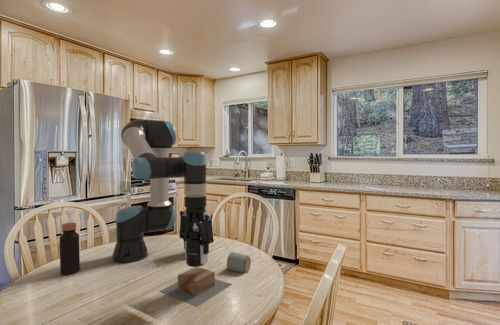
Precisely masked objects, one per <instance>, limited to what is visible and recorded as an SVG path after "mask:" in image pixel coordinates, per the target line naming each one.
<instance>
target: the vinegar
mask: <svg viewBox="0 0 500 325" xmlns="http://www.w3.org/2000/svg"><path fill="white" fill-rule="evenodd" d="M61 231H62V234H61V235H60V236H59V265H60V266H59V267H60V271H59V272H60V275H61V274H63V275H62V276H69V275H68V274H72V275H74V274H73V273H75V274H77V273H79V272H80V270H81V261H80V260H81V259H80V235H79V233H78V232H77V223H76V222H66V223H63V224H61ZM78 271H79V272H78ZM76 272H77V273H76Z"/></svg>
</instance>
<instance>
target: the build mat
mask: <svg viewBox="0 0 500 325" xmlns="http://www.w3.org/2000/svg"><path fill="white" fill-rule="evenodd" d="M232 285H233V283H230V282H226V281H223V280H221V279H216V278H215V286H214V287H212V288H210V289H209V290H207V291H205V292H204V293H202V294H200V295H198V296H194V295H191V294H189V293H186V292H183V291H181V290H178V281H177V282H175V283H173V284H170V285H169V286H166V287H165V288H162V289H161V290H159V291H158V292H160V293H162V294H165V295H166V296H169V297H172V298H175V299H177V300H178V301H181V302H184V303H187V304H189V305H191V306H194V307H199V306H200V305H202V304H204V303H205V302H207V301H209V300H210V299H211V298H213V297H214V296H216V295H218V294H219V293H221V292H223V291H225V290H226V289H228V288H229V287H230V286H232Z"/></svg>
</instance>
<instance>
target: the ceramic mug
mask: <svg viewBox="0 0 500 325" xmlns="http://www.w3.org/2000/svg"><path fill="white" fill-rule="evenodd" d="M251 261H252V259H251V257H250V256H249V255H247V254H246V253H245V254H244V253H239V252H235V251H230V253H229V254H228V256H227V259H226V270H227V271H228V272H229V271H230V272H236V273H243V274H247V273H248V272H249V270H250V269H251V263H252V262H251Z"/></svg>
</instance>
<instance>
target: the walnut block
mask: <svg viewBox="0 0 500 325" xmlns="http://www.w3.org/2000/svg"><path fill="white" fill-rule="evenodd" d="M215 274H216V272H215V271H212V270H209V269H206V268H205V269H204V268H201V267H200V266H199V267H191V269H188V270H186V271H184V272H182V273H180V274H178V275H177V282H178V290H181V291H183V292H186V293H189V294H191V295H194V296H198V295H200V294H202V293H204V292H205V291H207V290H209V289H210V288H212V287H214V286H215V279H216V278H215Z"/></svg>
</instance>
